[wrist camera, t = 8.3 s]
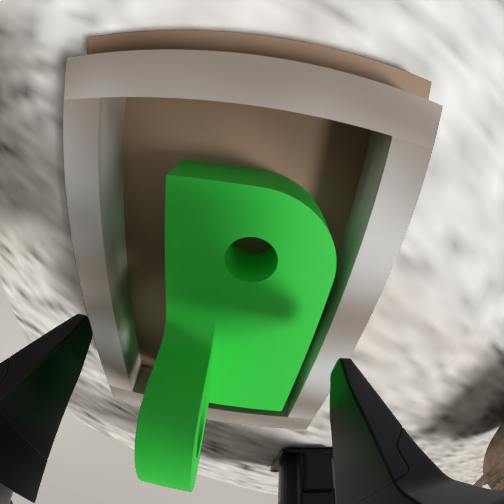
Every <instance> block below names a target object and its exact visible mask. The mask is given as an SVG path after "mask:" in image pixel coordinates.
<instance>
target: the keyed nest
mask: <svg viewBox="0 0 504 504" xmlns="http://www.w3.org/2000/svg"><path fill="white" fill-rule="evenodd" d="M430 88H431V81H428V80H426V79H424V78H421V77H419V76H416V75H414V74H411V73H409V72H406V71H404V70H401V69H398V68H395V67H393V66H390V65H387V64H384V63H381V62H378V61H375V60H372V59H368V58H365V57H362V56H358V55H355V54H351V53H348V52H344V51H340V50H336V49H332V48H328V47H324V46H319V45H315V44H310V43H305V42H300V41H295V40H289V39H283V38H277V37H270V36H263V35H255V34H246V33H236V32H223V31H203V30H158V31H139V32H127V33H117V34H108V35H100V36H93V37H89V41H88V48H87V55H82V56H75V57H69V58H67V62H66V72H65V85H64V106H63V150H64V172H65V186H66V197H67V207H68V215H69V223H70V230H71V237H72V244H73V250H74V256H75V261H76V266H77V272H78V277H79V281H80V286H81V290H82V295H83V299H84V303H85V307H86V311H87V315H88V318H89V320H90V324H91V328H92V332H93V337H94V340H95V344H96V347H97V350H98V353H99V357H100V360H101V363H102V366H103V369H104V372H105V375H106V377H107V380H108V383H109V386H110V388H111V391H112V394H113V396H114V398H116V399H119V400H123V401H126V402H130V403H134V404H137V405H141V403H142V400H143V396H144V393H145V390H146V387H147V384H148V381H149V378H150V375H151V372H152V369H153V366H154V363H155V361H156V358H157V355H158V352H159V349H160V346H161V343H162V339H163V335H164V330H165V323H166V286H165V197H166V175H167V174H168V173H169V172H170V171H171V170H172V169H173V168H175V167H176V166H177V165H178V164H179V163H180V162H181V161H182V160H188V161H198V162H206V163H215V164H222V165H230V166H237V167H244V168H251V169H258V170H264V171H269V172H274V173H277V174H280V175H282V176H285V177H287V178H289V179H291V180H293V181H294V182H296V183H297V184H299V185H300V186H301V187H303V188H304V189H305V190H306V191H307V192H308V193H309V194H310V195H311V196H312V197H313V198H314V200H315V201H316V203H317V204H318V205H319V207H320V209H321V211H322V213H323V216H324V218H325V221H326V224H327V226H328V229H329V232H330V234H331V237H332V240H333V243H334V246H335V251H336V259H337V264H336V273H335V278H334V281H333V284H332V287H331V290H330V293H329V296H328V299H327V301H326V304H325V307H324V310H323V312H322V315H321V318H320V320H319V323H318V326H317V328H316V331H315V333H314V336H313V339H312V341H311V344H310V346H309V349H308V351H307V354H306V356H305V358H304V361H303V363H302V366H301V368H300V371H299V373H298V375H297V378H296V380H295V382H294V385H293V387H292V389H291V391H290V394H289V396H288V398H287V400H286V403H285V405H284V407H283V409H282V411H271V410H260V409H251V408H243V407H235V406H227V405H221V404H214V403H209V405H208V411H207V417H206V419H207V420H214V421H220V422H227V423H235V424H243V425H251V426H261V427H273V428H287V429H307V427H308V426H309V424H310V423H311V421H312V420H313V418H314V417H315V415H316V413H317V412H318V410H319V409H320V407H321V406H322V404H323V402H324V401H325V399H326V397H327V396H328V394H329V392H330V376H331V372H332V370H333V368H334V366H335V364H336V362H337V360H338V359H339V358H349V357H350V355H351V354H352V352H353V350H354V348H355V346H356V344H357V342H358V340H359V338H360V336H361V334H362V332H363V330H364V328H365V326H366V324H367V322H368V320H369V318H370V316H371V314H372V312H373V310H374V308H375V306H376V304H377V301H378V299H379V297H380V295H381V293H382V290H383V288H384V286H385V284H386V281H387V279H388V277H389V274H390V272H391V270H392V267H393V265H394V262H395V260H396V257H397V255H398V252H399V250H400V247H401V245H402V242H403V239H404V237H405V234H406V231H407V229H408V226H409V223H410V220H411V218H412V215H413V212H414V209H415V206H416V203H417V200H418V197H419V194H420V191H421V188H422V184H423V181H424V178H425V174H426V171H427V168H428V164H429V160H430V157H431V153H432V149H433V146H434V142H435V138H436V134H437V129H438V125H439V121H440V116H441V112H442V107H443V106H441V105H439V104H437V103H434V102H432V101H429V100H428V98H429V93H430ZM234 243H235V245H236V246H237V247H238V248H239V249H241V250H242V251H244V252H247V253H251V254H259V253H263V252H265V251H267V250H269V249H270V248H271V247H272V245H271V244H269V243H268V242H267V241H265V240H263V239H260V238H257V237H244V238H240V239H238V240H236V241H234Z"/></svg>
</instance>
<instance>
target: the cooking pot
mask: <svg viewBox="0 0 504 504" xmlns="http://www.w3.org/2000/svg"><path fill="white" fill-rule="evenodd" d="M485 484H488V485H489V487H490V488H491V489H492V490H503V489H504V421H503V422H502V424H501V425H500V427H499V429H498V430H497V432H496V433H495V435H494V436H493V438H492V440H491V442H490V444H489V446H488V448H487V451H486V454H485V457H484V463H483V476H482V477H481V478H480V479H479V480H478V481H477V482H476V483H475V484H474V486H478V487H482V486H483V485H485Z"/></svg>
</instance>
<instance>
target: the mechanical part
mask: <svg viewBox="0 0 504 504" xmlns="http://www.w3.org/2000/svg"><path fill="white" fill-rule="evenodd" d="M244 237H257V238H260V239H263V240H265V241H267V242H268V243H269V244H271V245H272V247H271V248H270V249H269V250H267V251H265V252H263V253H259V254H251V253H247V252H244V251H242V250H241V249H239V248H238V247H237V246H236V245H235V243H234V241H236V240H238V239H240V238H244ZM336 264H337V259H336V251H335V246H334V243H333V240H332V237H331V234H330V232H329V229H328V226H327V224H326V221H325V218H324V216H323V213H322V211H321V209H320V207H319V205H318V204H317V203H316V201H315V200H314V198H313V197H312V196H311V195H310V194H309V193H308V192H307V191H306V190H305V189H304V188H303V187H301V186H300V185H299V184H297V183H296V182H294V181H293V180H291V179H289V178H287V177H285V176H282V175H280V174H277V173H274V172H269V171H264V170H258V169H251V168H244V167H237V166H230V165H222V164H215V163H206V162H198V161H188V160H182V161H181V162H180V163H179V164H178V165H177V166H176V167H175V168H173V169H172V170H171V171H170V172H169V173H168V174H167V175H166V197H165V286H166V323H165V330H164V335H163V339H162V343H161V346H160V349H159V352H158V355H157V358H156V361H155V363H154V366H153V369H152V372H151V375H150V378H149V381H148V384H147V387H146V390H145V393H144V396H143V400H142V403H141V407H140V412H139V417H138V422H137V429H136V437H135V467H136V472H137V475H138V478H139V479H140V480H141V481H144V482H148V483H152V484H156V485H161V486H165V487H169V488H174V489H179V490H184V491H189V492H192V490H193V487H194V483H195V479H196V474H197V469H198V464H199V458H200V452H201V446H202V440H203V434H204V428H205V423H206V417H207V411H208V405H209V403H214V404H221V405H227V406H235V407H243V408H251V409H260V410H271V411H282V409H283V407H284V405H285V403H286V400H287V398H288V396H289V394H290V391H291V389H292V387H293V385H294V382H295V380H296V378H297V375H298V373H299V371H300V368H301V366H302V363H303V361H304V358H305V356H306V354H307V351H308V349H309V346H310V344H311V341H312V339H313V336H314V333H315V331H316V328H317V326H318V323H319V320H320V318H321V315H322V312H323V310H324V307H325V304H326V301H327V299H328V296H329V293H330V290H331V287H332V284H333V281H334V278H335V273H336Z"/></svg>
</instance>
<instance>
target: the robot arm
mask: <svg viewBox="0 0 504 504" xmlns="http://www.w3.org/2000/svg"><path fill="white" fill-rule="evenodd" d="M92 336H93V332H92V328H91V324H90V320H89V318H88V316H86V315H82V314H77V315H75V316H73V317H72V318H70V319H68V320H67V321H65V322H64V323H62V324H60V325H59V326H57V327H56V328H54V329H53V330H51V331H49V332H48V333H46V334H45V335H43V336H41V337H40V338H38V339H37V340H35V341H34V342H32V343H31V344H29V345H27V346H26V347H24V348H23V349H21V350H20V351H18V352H17V353H15V354H14V355H12V356H11V357H10V358H7V359H6V360H5V361H3V362H1V363H0V504H13V503H12V501H11V497H12V494H13V492H15V493H17V494H19V495H20V496H22V497H24V498H26V499H28V500H30V501H31V502H33V503H35V500H36V497H37V493H38V490H39V486H40V483H41V479H42V476H43V473H44V470H45V466H46V463H47V459H48V457H49V454H50V451H51V448H52V445H53V442H54V439H55V436H56V433H57V430H58V428H59V425H60V422H61V420H62V417H63V415H64V412H65V409H66V407H67V404H68V402H69V399H70V397H71V394H72V392H73V390H74V387H75V385H76V382H77V380H78V378H79V375H80V373H81V370H82V367H83V364H84V361H85V358H86V355H87V352H88V349H89V346H90V343H91V340H92ZM330 422H331V433H332V445H333V449H283V450H282V451H281V452H280V454H279V455H278V457H277V458H276V460H275V461H274V463H273V464H272V466H271V469H270V471H271V472H279V490H278V504H504V489H503V490H490V489H486V488H482V487H478V486H474V485H470V484H467V483H463V482H459V481H456V480H453V479H451V478H450V477H448V476H447V475H445V474H444V473H443V472H442V471H441V470H440V469H439V468H438V467H437V466H436V465H435V464H434V463H433V462H432V461H431V460H430V459H429V457H428V456H427V455H426V454H425V453H424V452H423V451H422V450H421V449H420V448H419V447H418V445H417V444H416V443H415V442H414V441H413V439H412V438H411V437H410V436H409V434H408V433H407V432H406V430H405V429H404V428H402V425H401V424H400V423H399V421H398V420H397V419H396V417H395V416H394V415H393V413H392V412H391V411H390V410H389V408H388V407H387V406H386V404H385V403H384V402H383V400H382V399H381V398H380V396H379V395H378V394H377V393H376V391H375V390H374V389H373V387H372V386H371V385H370V383H369V382H368V381H367V379H366V378H365V377H364V376H363V374H362V373H361V372H360V370H359V369H358V368H357V367H356V365H355V364H354V363H353V361H352V360H351V359H349V358H339V359H338V360H337V362H336V364H335V366H334V368H333V370H332V372H331V376H330Z"/></svg>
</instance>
